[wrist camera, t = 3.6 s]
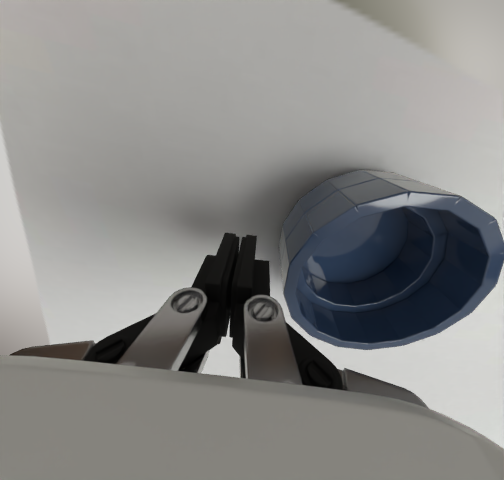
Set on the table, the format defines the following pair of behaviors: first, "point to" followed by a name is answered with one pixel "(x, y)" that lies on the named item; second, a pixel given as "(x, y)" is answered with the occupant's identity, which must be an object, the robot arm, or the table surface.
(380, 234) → the bowl
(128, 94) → the table surface
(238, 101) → the table surface
